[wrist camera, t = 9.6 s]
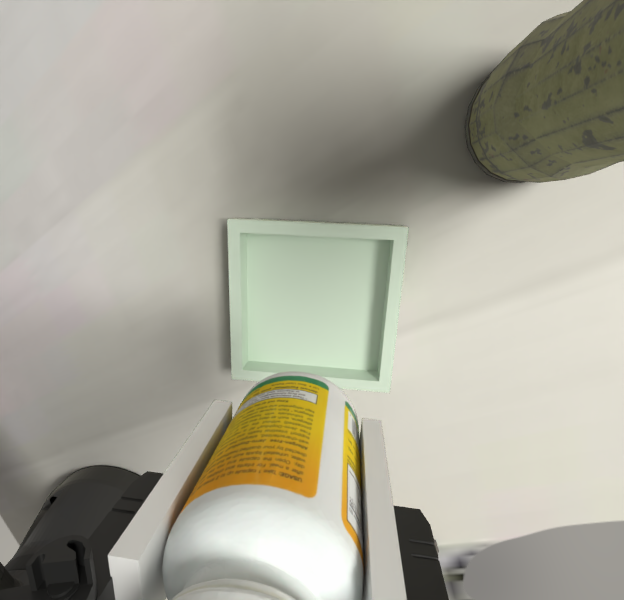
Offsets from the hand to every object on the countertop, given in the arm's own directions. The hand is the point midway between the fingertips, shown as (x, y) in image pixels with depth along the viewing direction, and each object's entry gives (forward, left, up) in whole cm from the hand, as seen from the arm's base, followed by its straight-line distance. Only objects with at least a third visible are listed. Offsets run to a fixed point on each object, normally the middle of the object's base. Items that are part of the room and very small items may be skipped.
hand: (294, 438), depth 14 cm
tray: (-1, +1, -17) cm, 17 cm away
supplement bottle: (0, 0, -2) cm, 2 cm away
